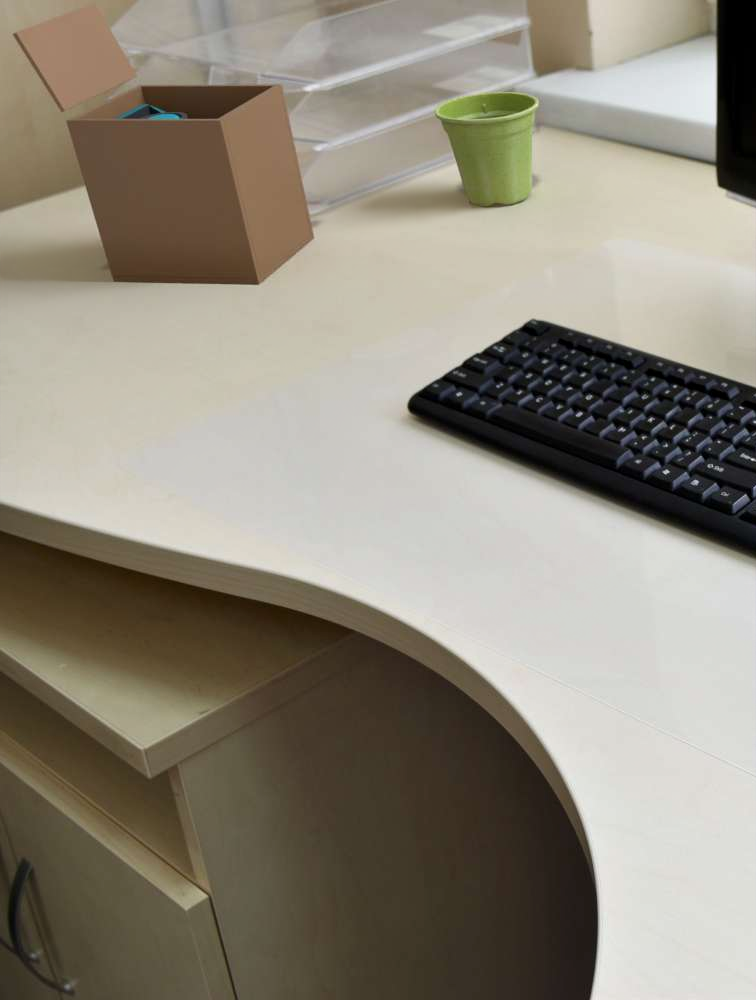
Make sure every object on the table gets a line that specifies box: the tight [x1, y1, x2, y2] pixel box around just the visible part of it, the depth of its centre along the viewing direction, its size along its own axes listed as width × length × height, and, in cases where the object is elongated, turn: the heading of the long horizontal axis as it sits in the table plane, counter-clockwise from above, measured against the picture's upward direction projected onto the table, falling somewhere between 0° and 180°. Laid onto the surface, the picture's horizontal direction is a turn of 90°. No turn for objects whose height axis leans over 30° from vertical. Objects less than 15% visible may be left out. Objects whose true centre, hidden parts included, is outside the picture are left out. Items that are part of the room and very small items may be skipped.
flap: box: [12, 3, 138, 113], centre depth 111 cm, size 6×11×1 cm
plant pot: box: [434, 91, 540, 207], centre depth 128 cm, size 9×9×9 cm
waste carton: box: [66, 83, 315, 285], centre depth 115 cm, size 13×11×14 cm
